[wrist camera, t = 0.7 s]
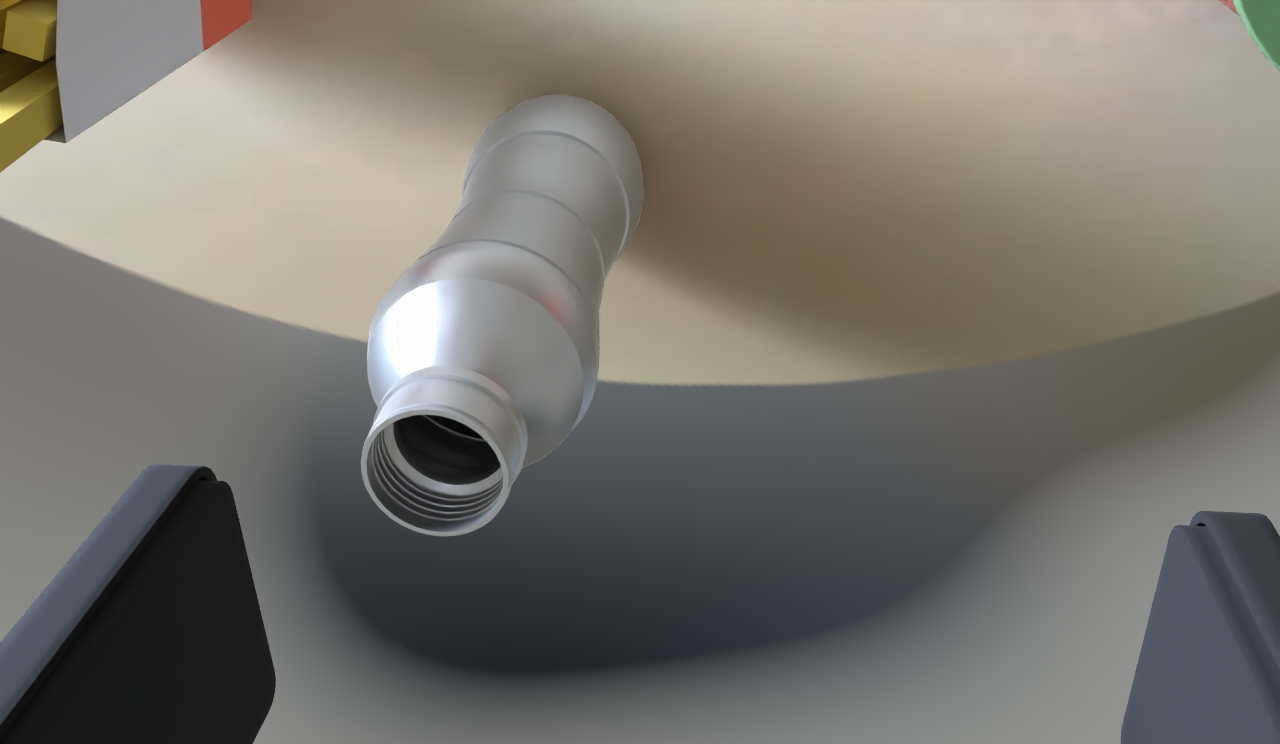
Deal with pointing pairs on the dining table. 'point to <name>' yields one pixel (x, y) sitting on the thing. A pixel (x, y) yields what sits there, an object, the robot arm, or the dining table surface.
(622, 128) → the plastic bottle
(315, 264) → the dining table surface
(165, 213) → the dining table surface
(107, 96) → the french fries container
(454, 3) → the dining table surface
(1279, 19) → the lid
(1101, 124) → the dining table surface
